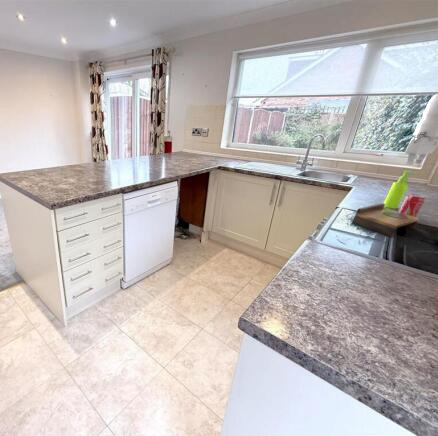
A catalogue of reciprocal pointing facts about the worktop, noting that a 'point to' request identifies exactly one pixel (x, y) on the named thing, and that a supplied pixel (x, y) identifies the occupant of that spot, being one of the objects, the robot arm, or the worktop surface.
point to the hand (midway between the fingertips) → (413, 164)
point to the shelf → (383, 219)
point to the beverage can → (412, 204)
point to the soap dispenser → (397, 191)
